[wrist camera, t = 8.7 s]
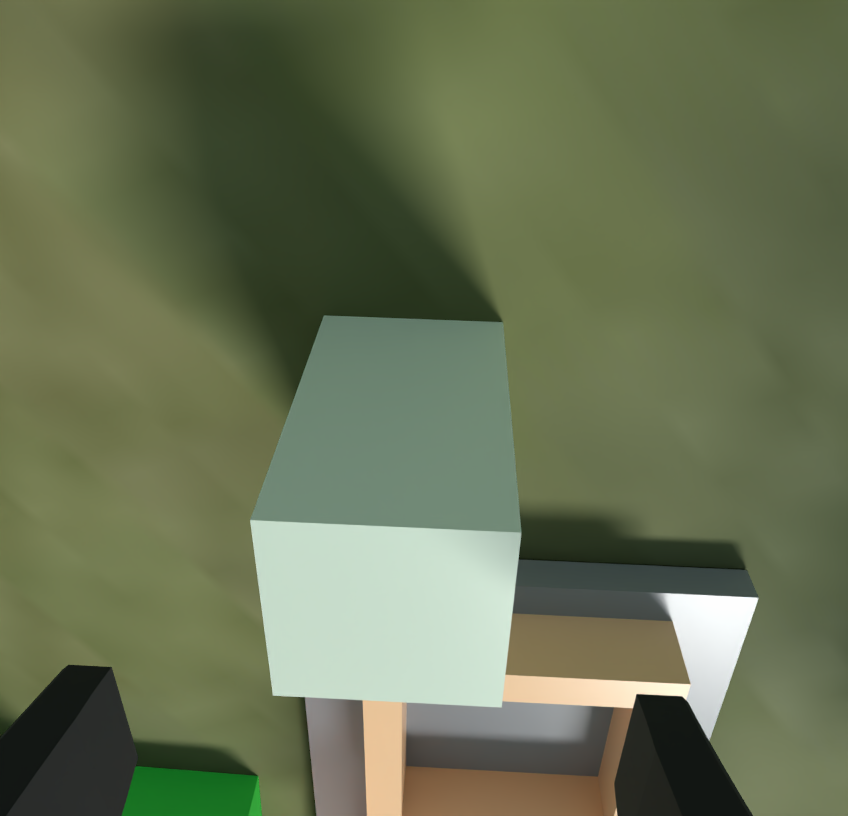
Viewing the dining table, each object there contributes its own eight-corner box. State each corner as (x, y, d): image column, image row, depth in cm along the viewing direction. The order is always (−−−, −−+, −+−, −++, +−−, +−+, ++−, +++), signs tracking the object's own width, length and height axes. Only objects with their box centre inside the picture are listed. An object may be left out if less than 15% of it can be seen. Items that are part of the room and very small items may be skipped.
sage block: (503, 322, 17) (521, 533, 11) (491, 466, 19) (501, 707, 14) (324, 315, 17) (250, 520, 12) (331, 460, 20) (273, 695, 14)
